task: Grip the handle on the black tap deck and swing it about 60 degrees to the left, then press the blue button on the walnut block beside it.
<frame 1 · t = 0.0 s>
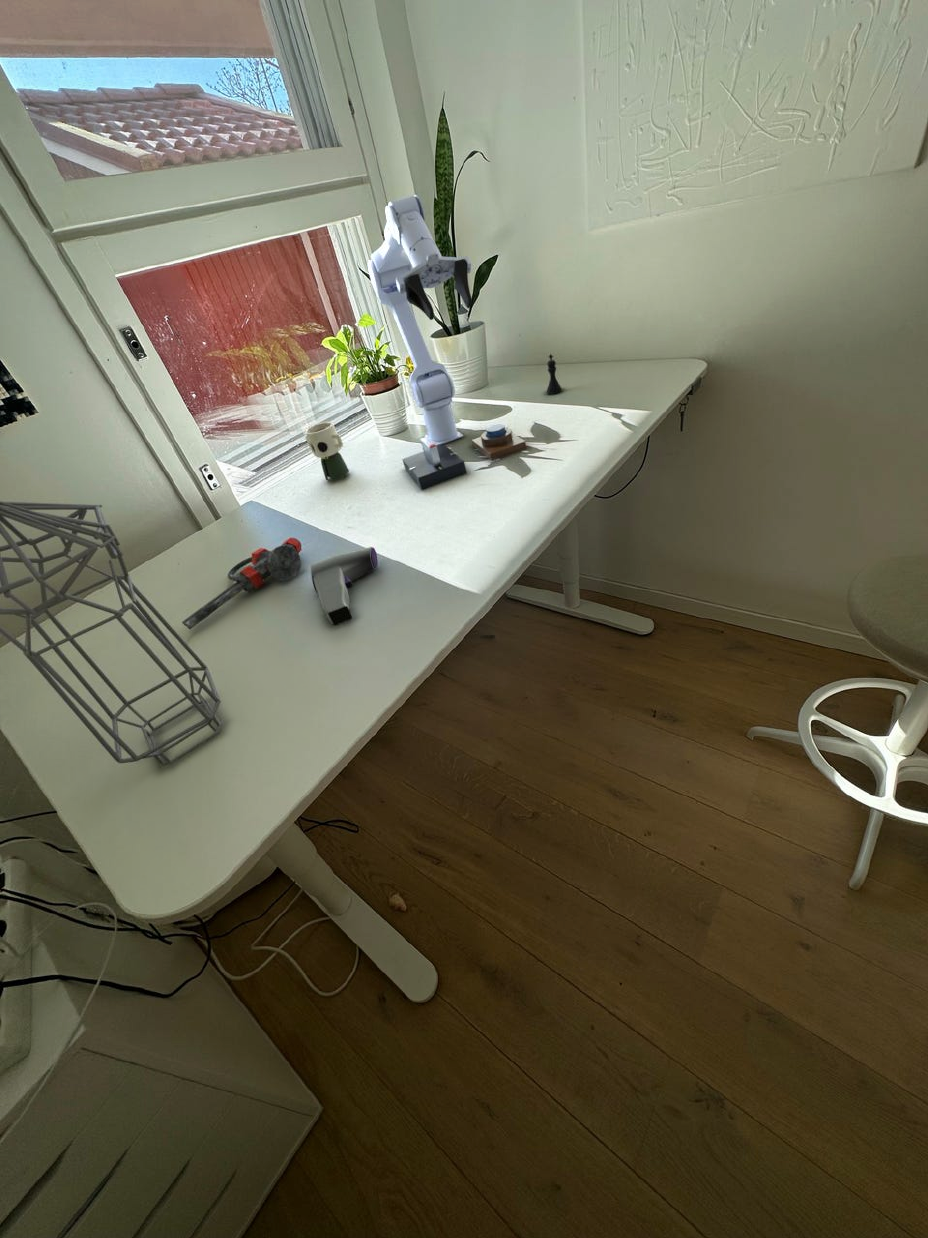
hand: (451, 309, 97), 32 cm above the table, tool tilted 50°, fingers open, 7 cm apart
character mug: (338, 478, 133), on the table
geometric lantern: (187, 732, 72), on the table
chess piece: (554, 392, 148), on the table
infrared thermometer: (355, 592, 90), on the table
button block: (498, 447, 125), on the table
tap deck: (435, 472, 122), on the table
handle: (430, 451, 118), point 5 cm above the table, hinge at 0.0°
button: (495, 431, 123), point 4 cm above the table, slide at 0.1 cm
chainsaw: (246, 588, 99), on the table
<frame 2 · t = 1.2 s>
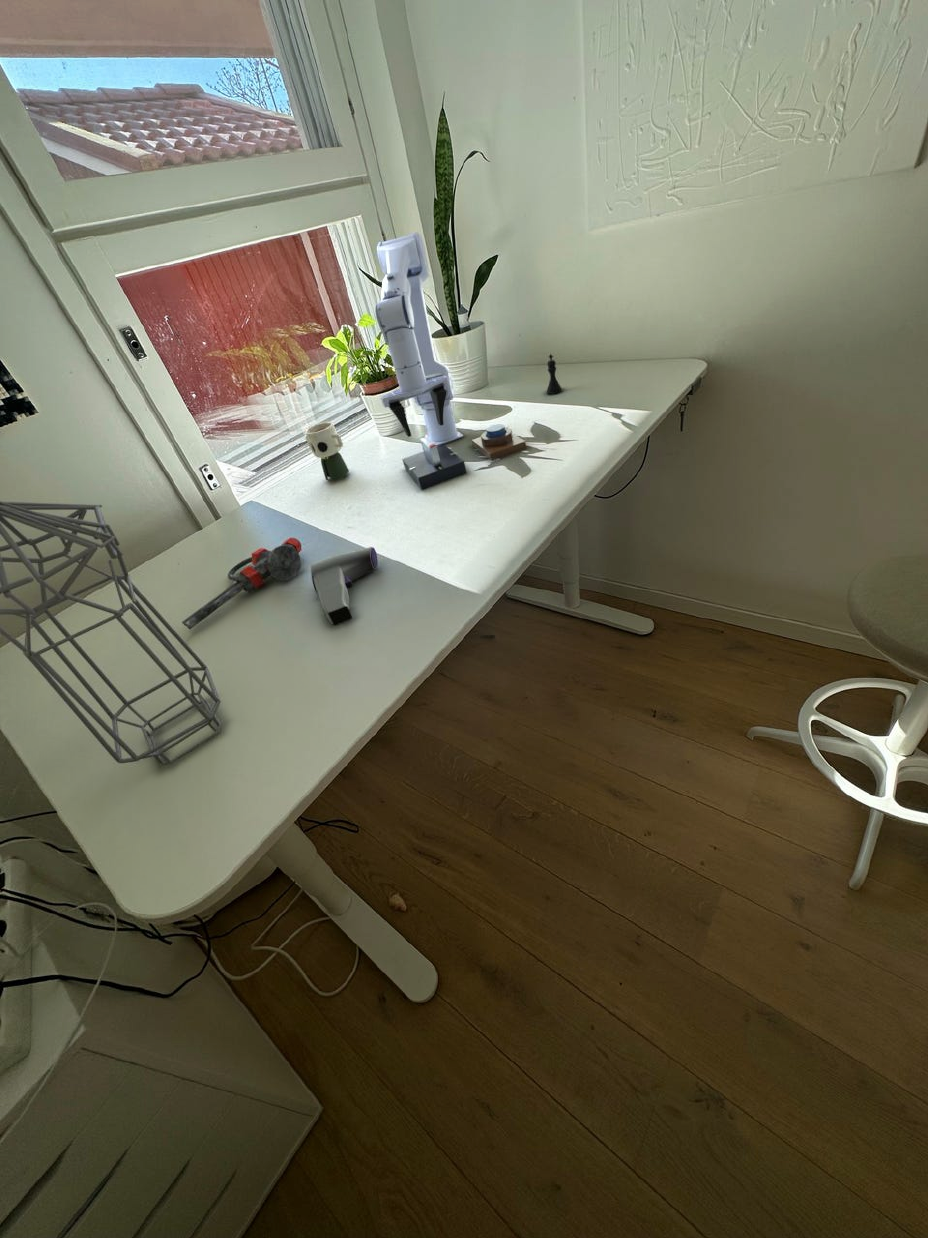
hand: (424, 429, 115), 10 cm above the table, tool pointing down, fingers open, 7 cm apart
nothing on the table moved.
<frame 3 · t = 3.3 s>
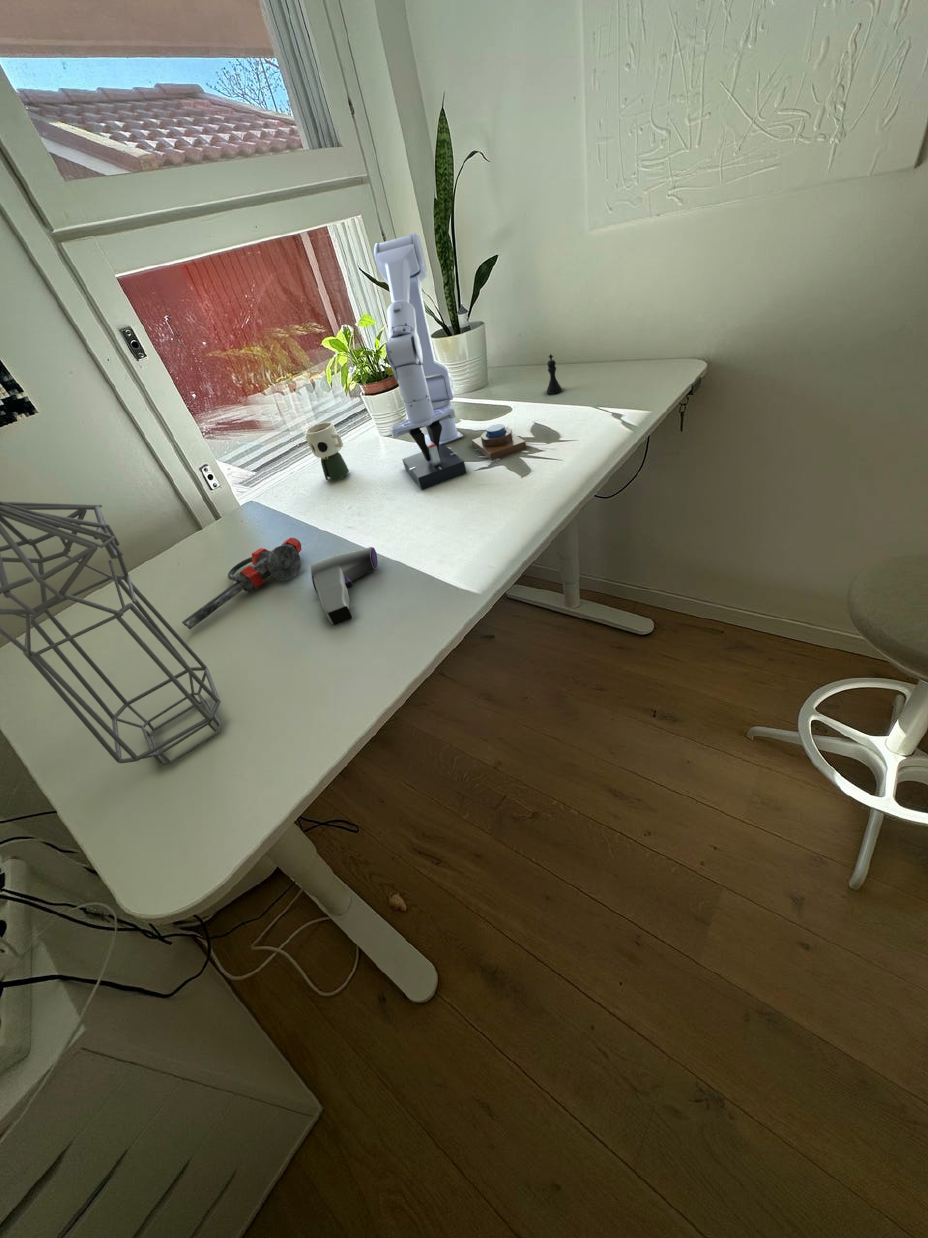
hand: (432, 458, 119), 4 cm above the table, tool pointing down, fingers closed on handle, 2 cm apart
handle: (430, 451, 118), point 5 cm above the table, hinge at 0.0°, touching gripper
everything else where it was.
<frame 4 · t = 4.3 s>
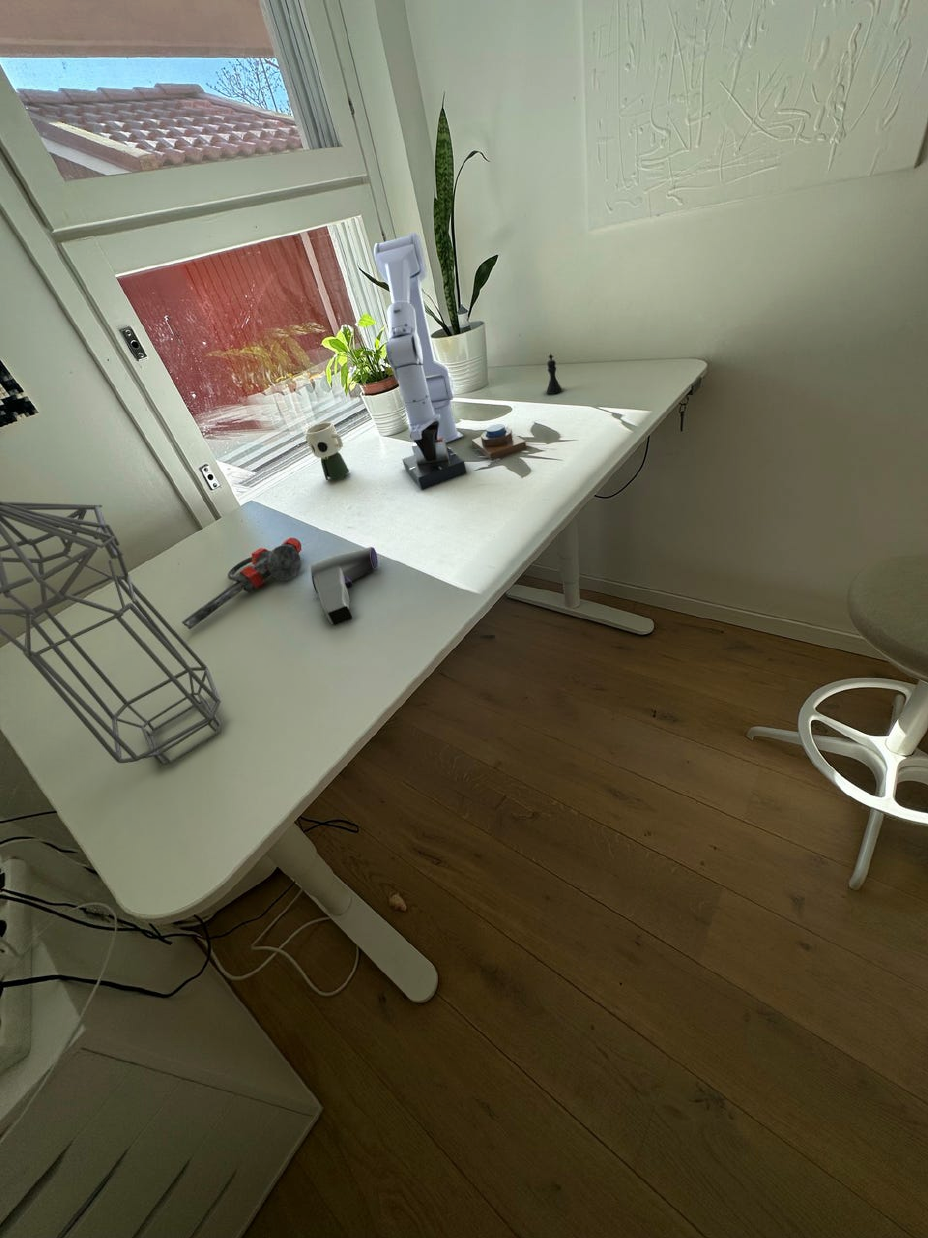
hand: (432, 458, 119), 4 cm above the table, tool pointing down, fingers closed on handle, 2 cm apart
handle: (430, 451, 118), point 5 cm above the table, hinge at 59.9°, touching gripper
everything else where it was.
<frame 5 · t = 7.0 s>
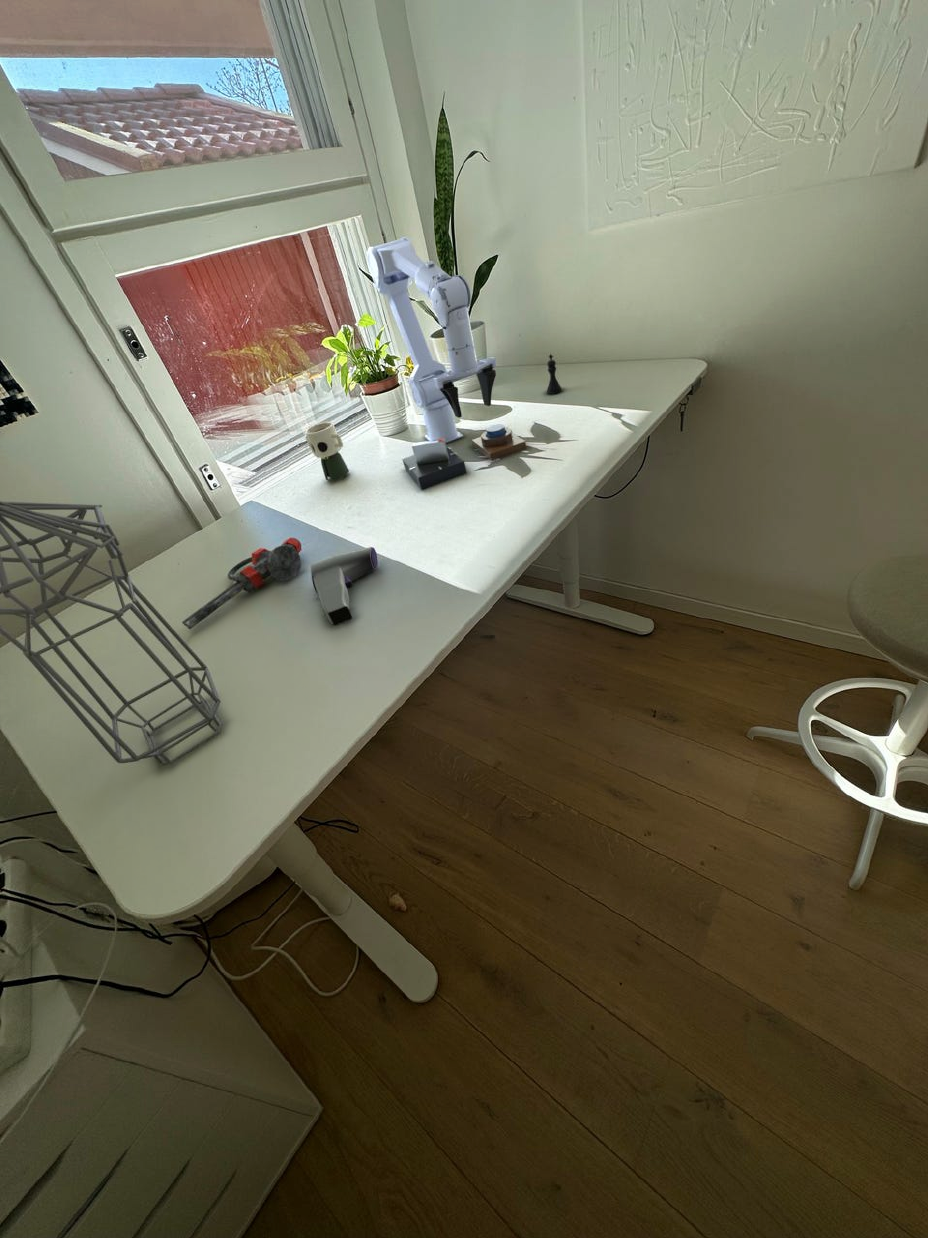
hand: (473, 410, 118), 10 cm above the table, tool pointing down, fingers open, 7 cm apart
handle: (430, 451, 118), point 5 cm above the table, hinge at 59.8°
everything else where it was.
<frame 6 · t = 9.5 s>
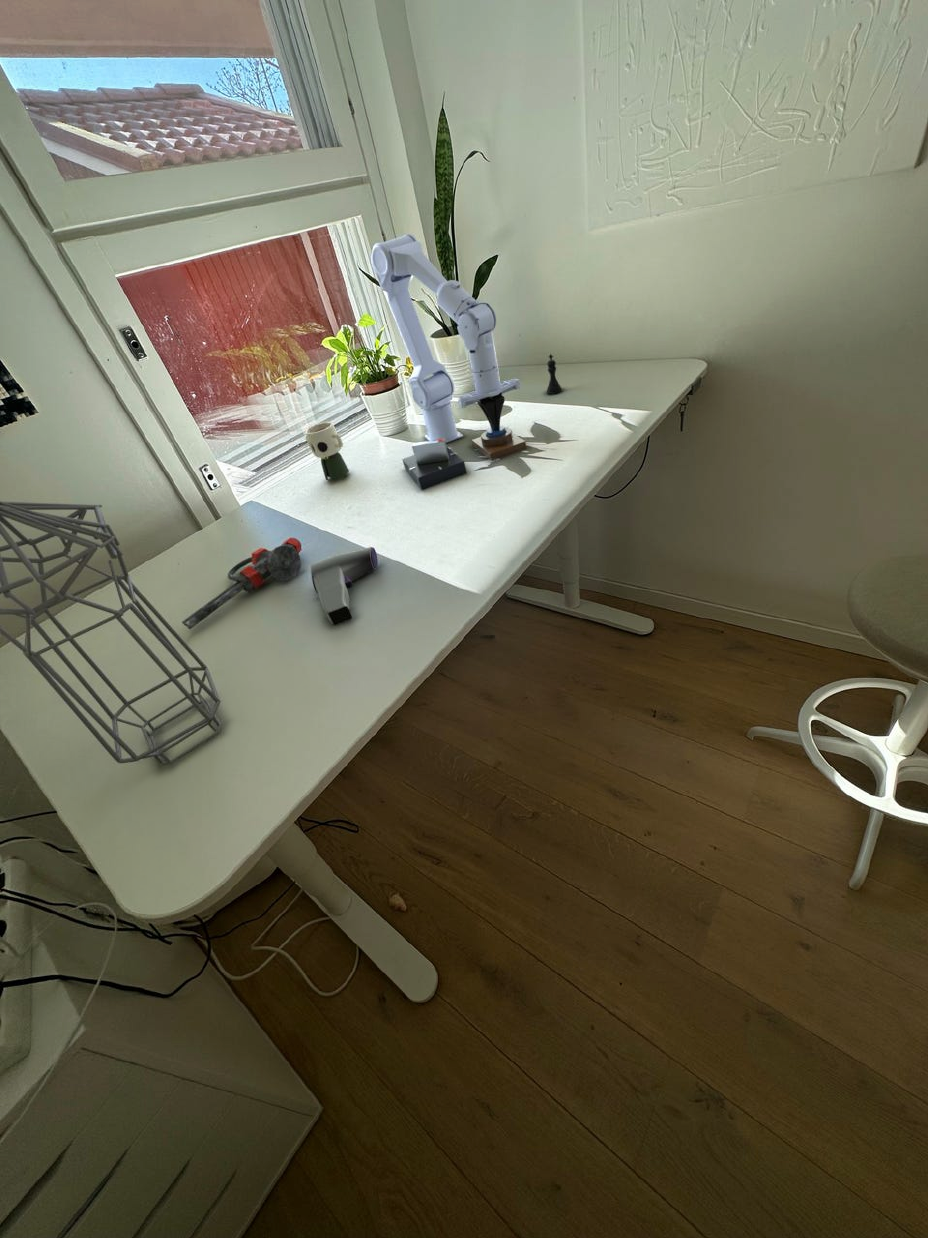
hand: (495, 428, 123), 4 cm above the table, tool pointing down, fingers closed, pressing on button
button: (496, 432, 123), point 4 cm above the table, slide at -0.2 cm, touching gripper
everything else where it was.
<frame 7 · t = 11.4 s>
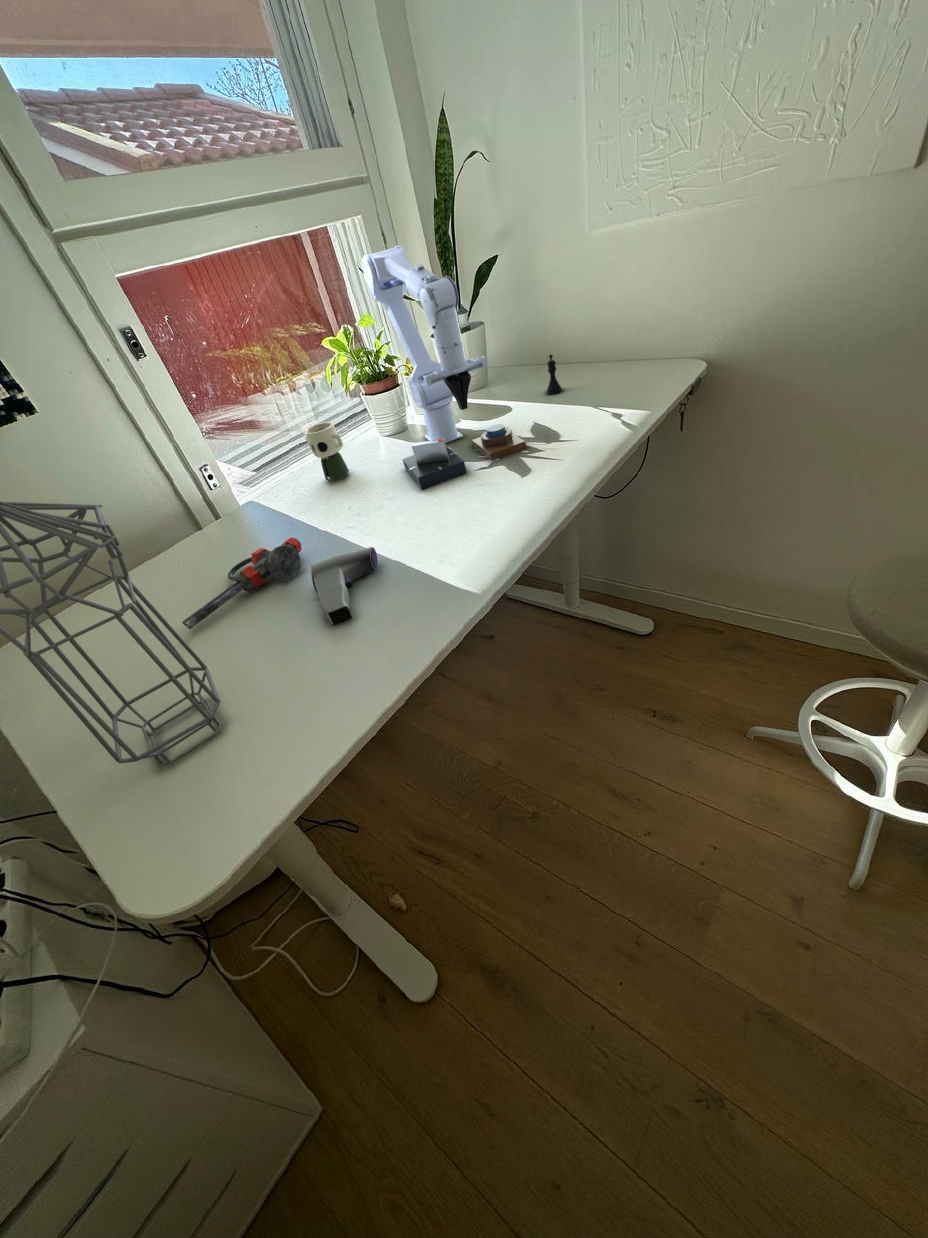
hand: (463, 408, 121), 10 cm above the table, tool pointing down, fingers closed
button: (495, 431, 123), point 4 cm above the table, slide at 0.1 cm
everything else where it was.
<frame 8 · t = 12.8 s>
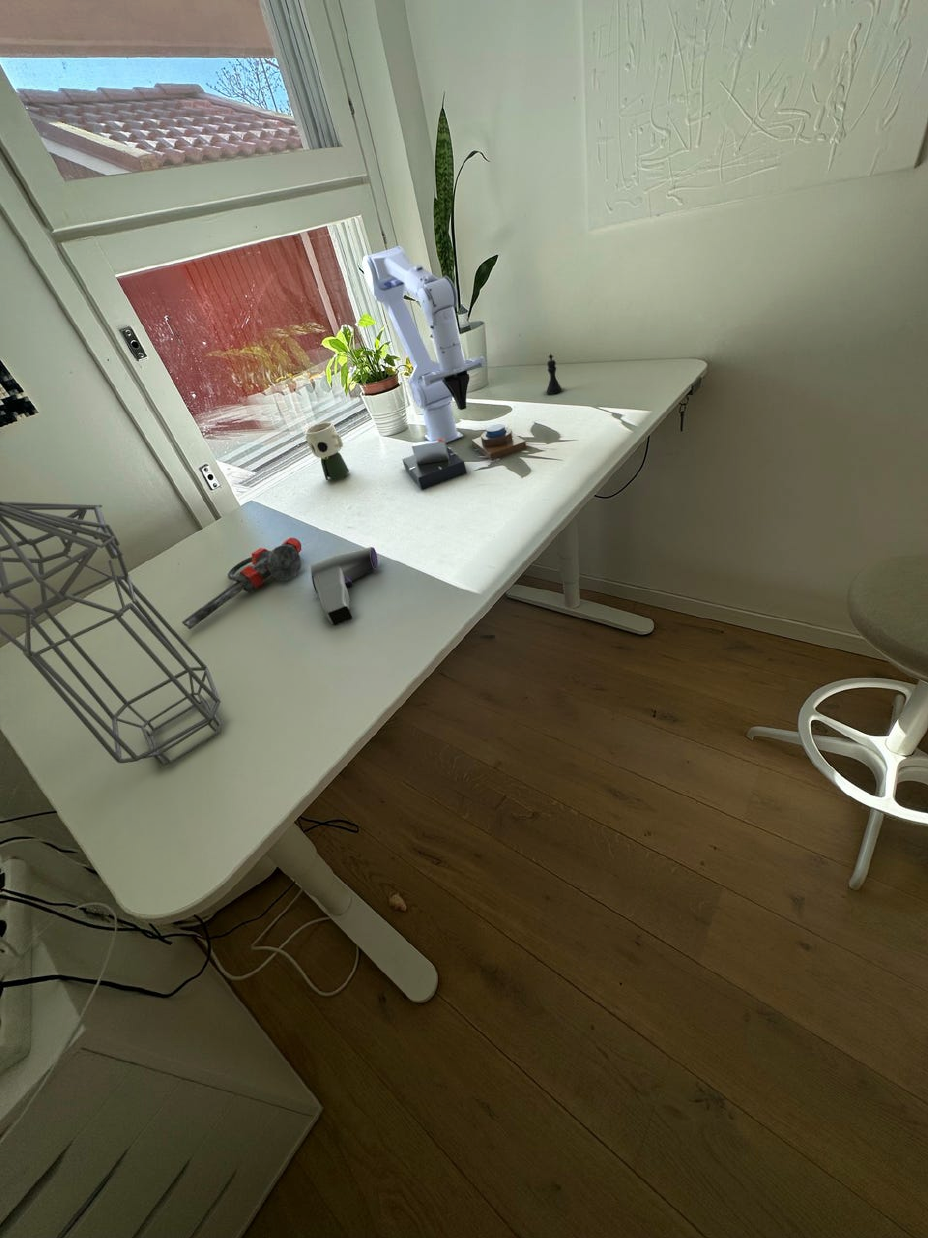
hand: (462, 408, 121), 10 cm above the table, tool pointing down, fingers closed
nothing on the table moved.
at the end: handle at +60° (first picture: +0°); button pushed in 1.2 cm at the most during the clip, back to where it started at the end; button slide at 0.1 cm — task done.
